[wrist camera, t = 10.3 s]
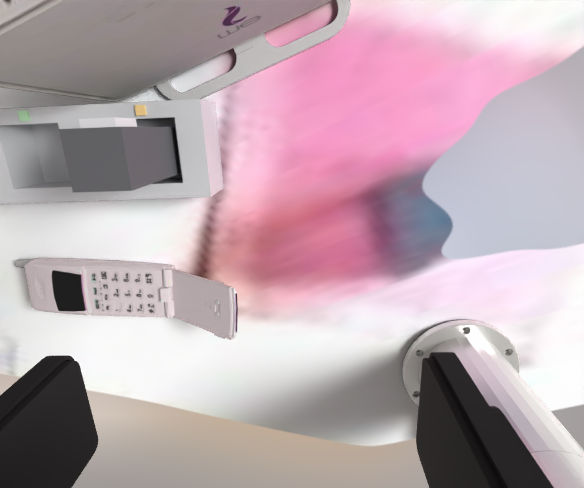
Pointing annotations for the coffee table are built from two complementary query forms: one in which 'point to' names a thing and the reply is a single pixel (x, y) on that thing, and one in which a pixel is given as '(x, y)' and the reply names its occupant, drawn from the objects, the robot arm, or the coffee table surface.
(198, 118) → the socket block
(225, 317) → the mobile phone
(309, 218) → the coffee table surface
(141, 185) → the plug
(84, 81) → the network device
